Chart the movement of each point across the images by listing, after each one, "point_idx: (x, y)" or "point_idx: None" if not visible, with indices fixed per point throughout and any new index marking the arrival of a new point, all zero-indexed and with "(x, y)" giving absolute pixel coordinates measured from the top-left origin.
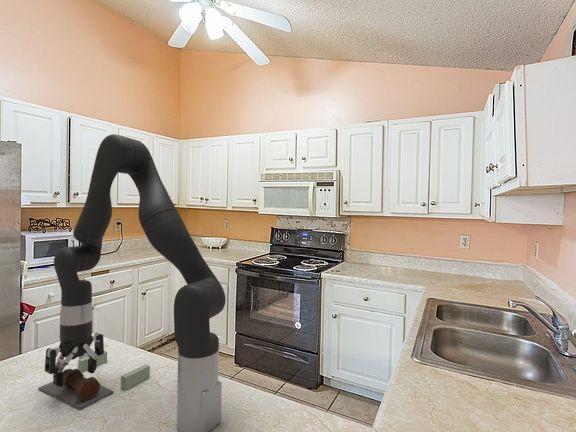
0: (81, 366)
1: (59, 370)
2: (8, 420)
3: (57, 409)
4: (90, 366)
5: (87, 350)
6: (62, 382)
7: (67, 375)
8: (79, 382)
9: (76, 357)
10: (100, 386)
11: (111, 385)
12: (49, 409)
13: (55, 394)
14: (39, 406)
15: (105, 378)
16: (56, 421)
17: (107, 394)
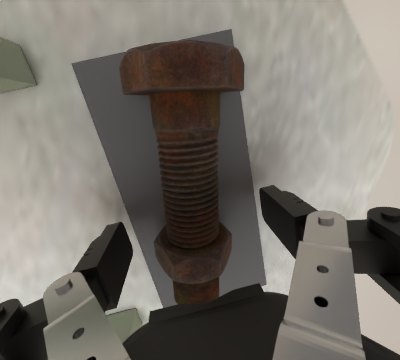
0: (132, 331)
1: (333, 221)
2: (379, 160)
3: (275, 114)
4: (118, 255)
5: (108, 353)
6: (268, 192)
7: (224, 250)
8: (208, 140)
9: (224, 298)
10: (111, 153)
11: (68, 146)
12: (290, 135)
13: (250, 210)
14: (299, 179)
15: (76, 220)
16: (311, 23)
17: (104, 57)
